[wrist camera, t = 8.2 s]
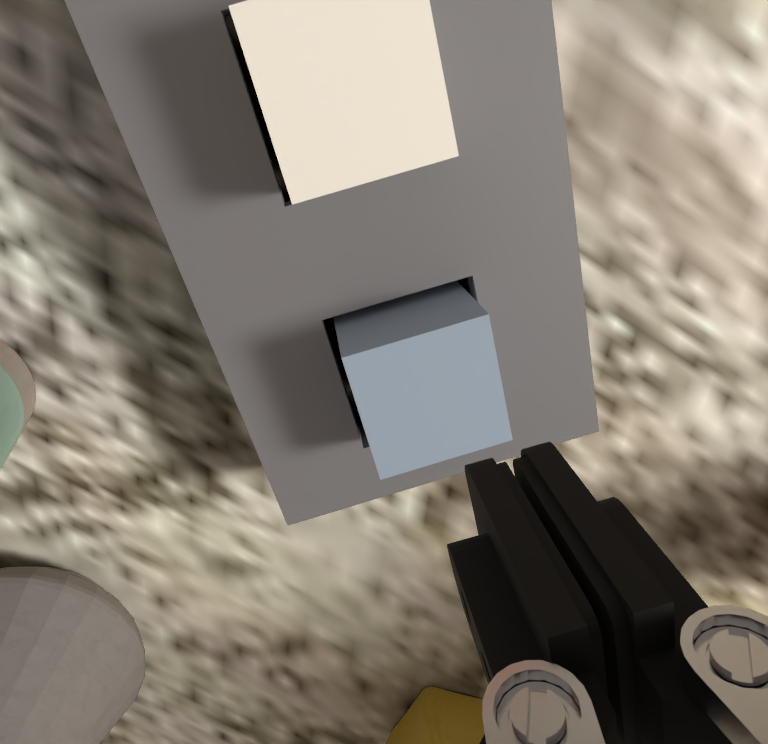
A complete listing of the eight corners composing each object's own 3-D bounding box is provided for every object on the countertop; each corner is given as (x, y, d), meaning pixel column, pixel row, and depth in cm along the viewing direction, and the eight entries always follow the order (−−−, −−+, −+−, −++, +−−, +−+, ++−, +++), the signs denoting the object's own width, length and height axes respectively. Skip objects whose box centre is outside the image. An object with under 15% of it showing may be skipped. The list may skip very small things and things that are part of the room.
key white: (390, -11, 19) (420, -49, 15) (423, 146, 21) (458, 156, 17) (244, 30, 19) (228, 5, 14) (292, 184, 21) (292, 204, 17)
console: (413, -567, 16) (459, -828, 12) (552, 382, 30) (598, 431, 25) (-72, -439, 16) (-215, -654, 11) (288, 461, 29) (287, 525, 25)
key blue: (451, 274, 23) (488, 314, 19) (473, 381, 25) (512, 439, 21) (332, 310, 23) (341, 358, 19) (365, 414, 25) (380, 479, 21)
